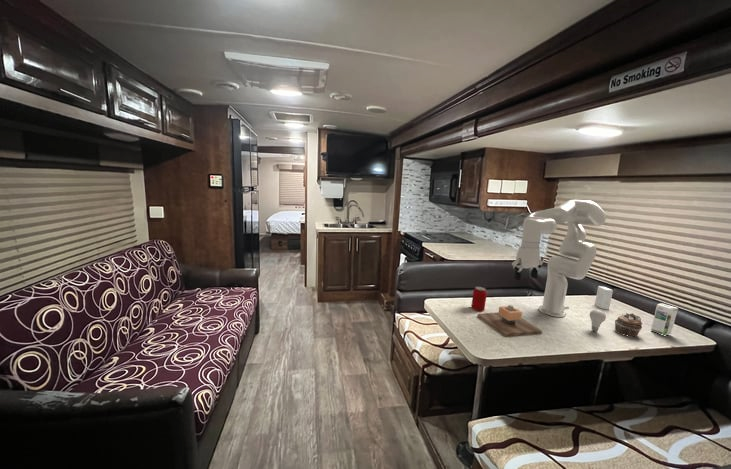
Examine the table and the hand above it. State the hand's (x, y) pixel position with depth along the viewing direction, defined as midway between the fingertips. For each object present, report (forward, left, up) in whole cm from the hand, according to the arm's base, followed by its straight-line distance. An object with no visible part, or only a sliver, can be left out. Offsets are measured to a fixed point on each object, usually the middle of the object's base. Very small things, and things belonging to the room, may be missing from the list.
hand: (525, 278), depth 139 cm
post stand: (+8, +2, -23) cm, 24 cm away
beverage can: (+12, -16, -23) cm, 31 cm away
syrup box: (-66, +21, -23) cm, 73 cm away
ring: (+8, +2, -19) cm, 21 cm away
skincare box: (-69, -9, -23) cm, 73 cm away
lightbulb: (-32, +14, -23) cm, 42 cm away
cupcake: (-47, +18, -23) cm, 55 cm away
